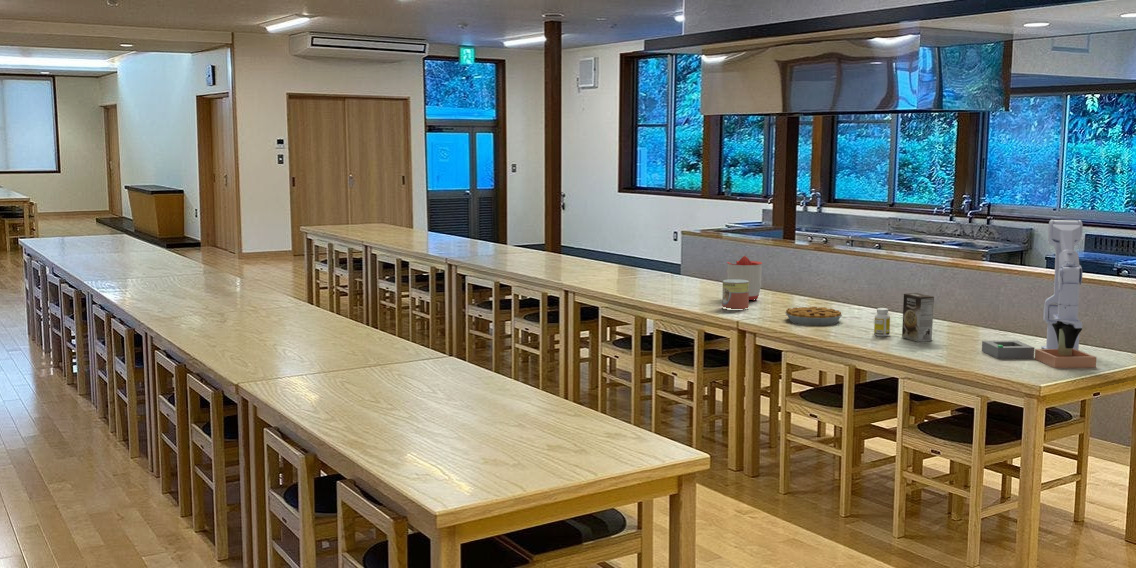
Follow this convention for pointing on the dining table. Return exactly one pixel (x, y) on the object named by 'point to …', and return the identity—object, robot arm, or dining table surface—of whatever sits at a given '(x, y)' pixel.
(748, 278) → the citrus juicer
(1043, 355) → the tray
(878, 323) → the supplement bottle
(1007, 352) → the frame
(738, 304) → the canned food
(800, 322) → the pie
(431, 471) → the dining table surface
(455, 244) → the dining table surface
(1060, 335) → the olive cell
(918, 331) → the coffee box
